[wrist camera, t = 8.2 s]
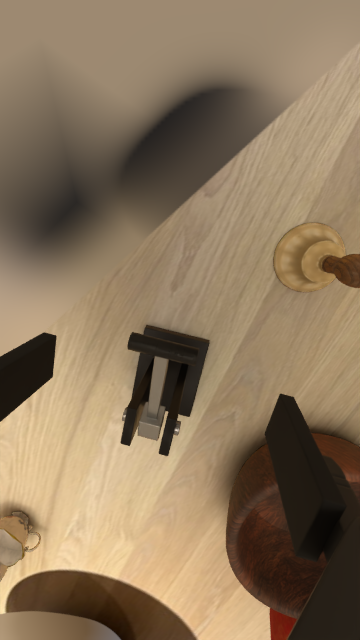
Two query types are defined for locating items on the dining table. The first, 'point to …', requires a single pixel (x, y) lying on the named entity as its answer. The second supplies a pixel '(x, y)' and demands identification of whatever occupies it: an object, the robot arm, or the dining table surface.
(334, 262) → the hand bell
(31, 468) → the dining table surface
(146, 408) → the lever
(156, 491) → the dining table surface
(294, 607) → the wooden bowl
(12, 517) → the chinaware
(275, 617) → the apple
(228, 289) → the dining table surface
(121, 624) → the dining table surface
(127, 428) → the bracket
